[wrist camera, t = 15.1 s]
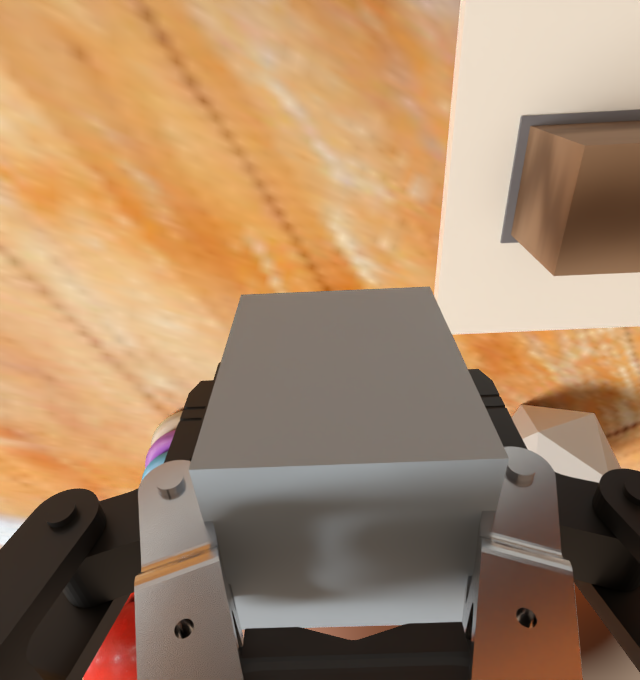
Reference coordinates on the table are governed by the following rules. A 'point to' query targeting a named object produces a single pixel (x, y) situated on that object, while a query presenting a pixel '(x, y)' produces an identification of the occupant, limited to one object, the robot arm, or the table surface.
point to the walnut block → (581, 198)
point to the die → (566, 441)
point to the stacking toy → (120, 644)
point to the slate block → (346, 460)
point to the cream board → (509, 152)
